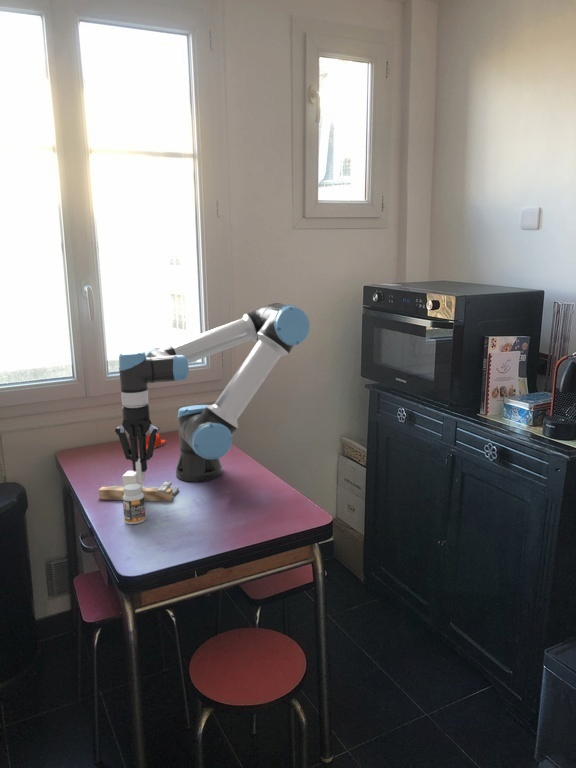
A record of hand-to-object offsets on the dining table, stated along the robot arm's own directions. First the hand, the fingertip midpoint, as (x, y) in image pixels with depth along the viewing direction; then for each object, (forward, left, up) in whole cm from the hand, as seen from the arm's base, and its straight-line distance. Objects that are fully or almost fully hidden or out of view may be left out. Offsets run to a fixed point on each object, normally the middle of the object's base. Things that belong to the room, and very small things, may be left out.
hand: (140, 481), depth 185 cm
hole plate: (+2, -5, -6) cm, 8 cm away
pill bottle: (-4, +15, -6) cm, 16 cm away
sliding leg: (+3, -2, -5) cm, 6 cm away
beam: (+2, 0, -6) cm, 6 cm away
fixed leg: (-7, -2, -4) cm, 8 cm away
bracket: (+14, -50, -6) cm, 53 cm away
